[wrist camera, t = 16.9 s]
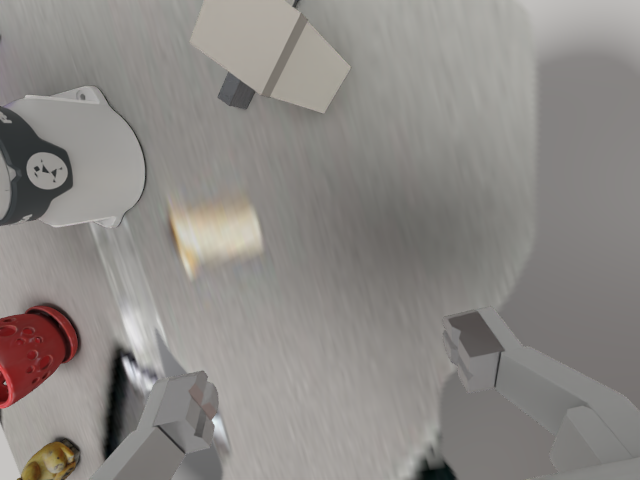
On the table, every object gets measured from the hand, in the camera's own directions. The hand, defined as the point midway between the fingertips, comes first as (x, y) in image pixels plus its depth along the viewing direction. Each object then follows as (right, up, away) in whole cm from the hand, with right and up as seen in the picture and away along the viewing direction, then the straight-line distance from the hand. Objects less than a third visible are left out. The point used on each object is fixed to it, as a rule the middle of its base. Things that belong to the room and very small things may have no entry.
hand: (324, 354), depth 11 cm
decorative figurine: (-56, -43, +59) cm, 92 cm away
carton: (-1, +21, +22) cm, 30 cm away
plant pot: (-48, -13, +48) cm, 69 cm away
